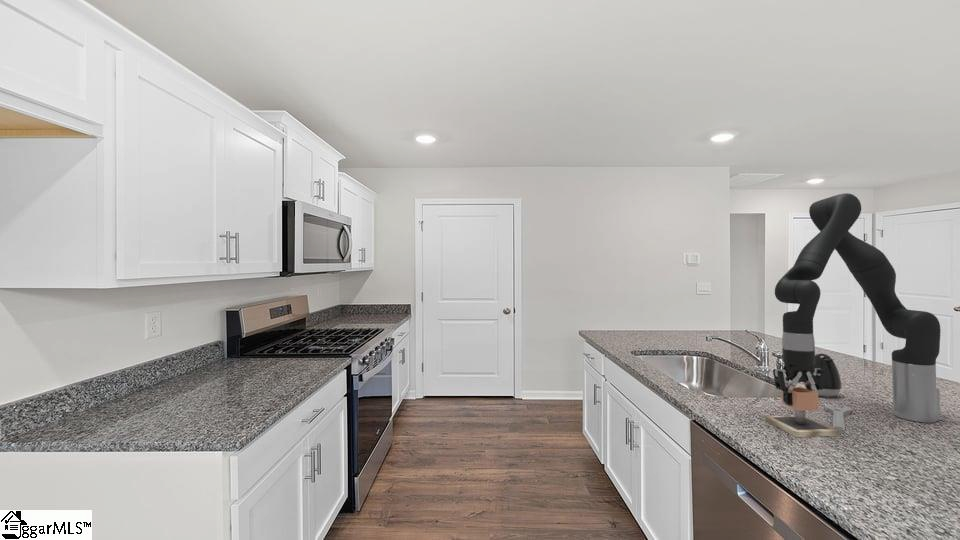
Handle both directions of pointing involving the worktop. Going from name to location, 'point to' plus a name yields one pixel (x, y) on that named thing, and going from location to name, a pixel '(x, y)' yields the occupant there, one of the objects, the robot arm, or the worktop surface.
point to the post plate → (801, 425)
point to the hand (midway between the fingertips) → (799, 404)
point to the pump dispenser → (828, 375)
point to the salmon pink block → (803, 399)
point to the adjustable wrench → (838, 416)
